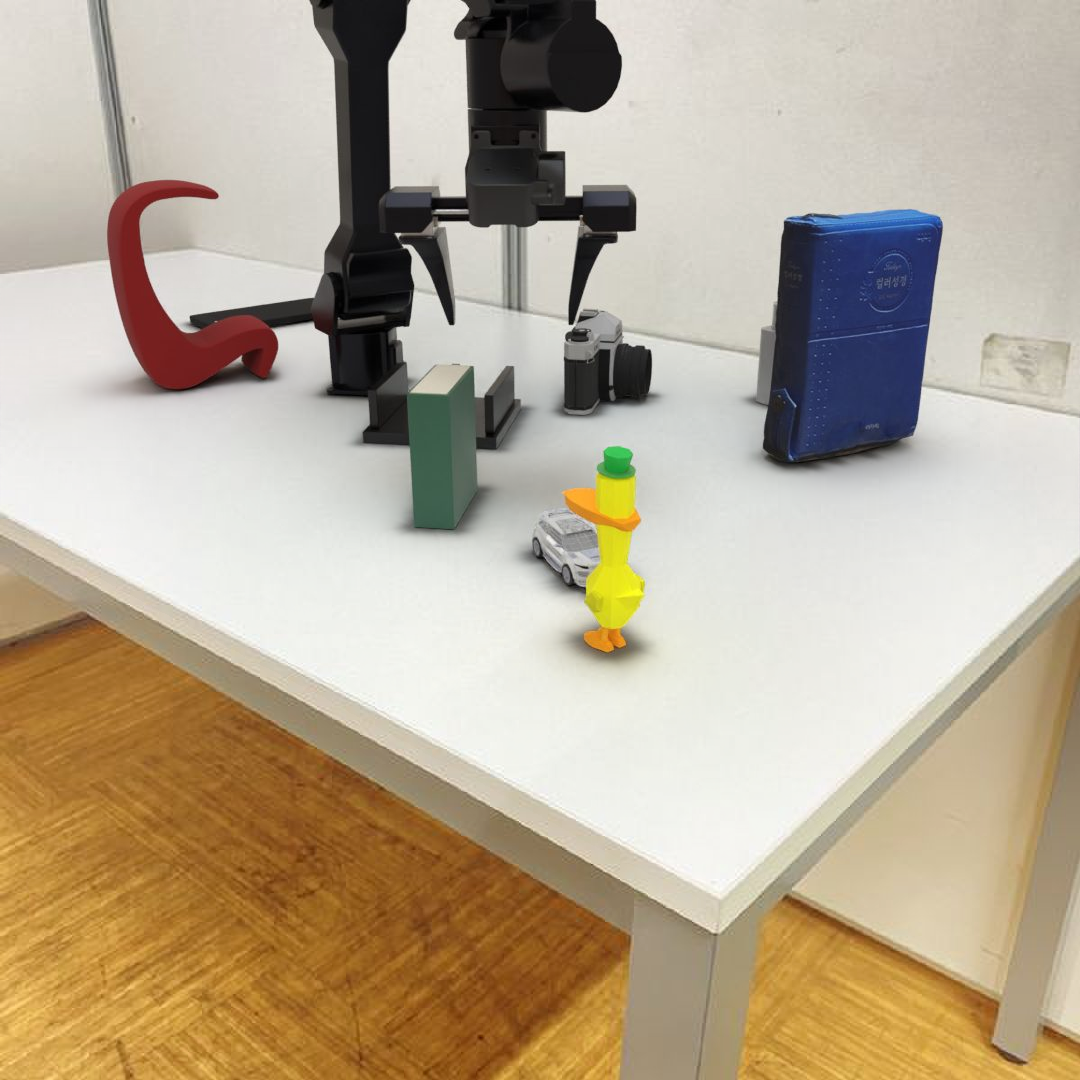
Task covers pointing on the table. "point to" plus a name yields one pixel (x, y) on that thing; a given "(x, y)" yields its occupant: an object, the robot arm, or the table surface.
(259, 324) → the chair
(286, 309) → the cell phone
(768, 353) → the power adapter
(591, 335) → the camera
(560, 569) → the toy car
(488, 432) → the book rack
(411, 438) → the small book
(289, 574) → the table surface
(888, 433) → the book
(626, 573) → the toy figure
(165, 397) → the table surface
